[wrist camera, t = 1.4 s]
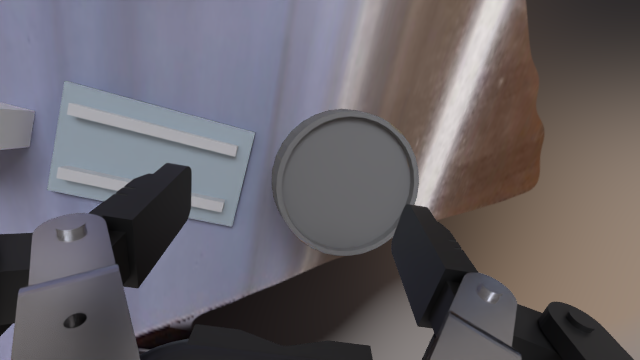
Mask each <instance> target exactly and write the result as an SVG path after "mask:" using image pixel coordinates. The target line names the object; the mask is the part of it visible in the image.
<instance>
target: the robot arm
mask: <svg viewBox="0 0 640 360" xmlns="http://www.w3.org/2000/svg"><path fill="white" fill-rule="evenodd" d="M191 190H192V171H191V168H190V167H189V166H184V165H178V164H172V163H166V164H164V165H163V166H162V167H161V168H160V169H158V170H157V171H156V172H155V173H153V174H150V173H148V174H145V175H143V176H140V177H137V178H134V179H133V180H132V181H130V182H129V183H128V184H126V185H125V186H124V188H121V189H120V190H118V191H117V192H116V194H113V195H112V196H111V197H109V198H108V199H107V200H105V201H104V202H103V203H101V204H100V205H99V206H97V207H96V208H95V209H93V210H92V211H91V212H90V213H76V214H68V215H63V216H59V217H56V218H53V219H51V220H48V221H46V222H44V223H43V224H41V225H40V226H38V227H37V228H36V229H35V231H34V232H33V233H21V234H0V336H1V335H2V334H3V333H4V332H5V331H6V330H7V329H8V328H9V327H10V326H11V325H12V324H13V323H15V327H14V336H13V345H12V355H11V360H373V359H372V354H371V348H370V346H368V345H359V344H351V343H343V342H335V341H323V342H315V343H307V344H300V345H291V346H282V345H279V344H276V343H273V342H271V341H268V340H266V339H263V338H260V337H257V336H255V335H253V334H250V333H247V332H244V331H242V330H239V329H230V328H222V327H214V326H206V325H198V324H195V326H194V329H193V331H192V333H191V336H190V338H189V339H186V340H180V341H176V342H171V343H168V344H165V345H162V346H159V347H156V348H154V349H152V350H149V351H147V352H145V353H143V354H141V355H139V352H138V348H137V343H136V339H135V335H134V331H133V326H132V322H131V318H130V314H129V309H128V305H127V301H126V297H125V292H124V288H123V286H124V287H132V288H139V287H140V285H141V284H142V282H143V281H144V280H145V278H146V277H147V275H148V274H149V273H150V271H151V270H152V268H153V267H154V266H155V264H156V263H157V261H158V260H159V259H160V257H161V256H162V255H163V253H164V252H165V250H166V249H167V248H168V246H169V245H170V243H171V242H172V241H173V239H174V238H175V236H176V235H177V234H178V232H179V231H180V230H181V228H182V227H183V225H184V224H185V223H186V221H187V219H188V217H189V214H190V210H191ZM391 249H392V254H393V257H394V260H395V263H396V266H397V269H398V272H399V274H400V277H401V280H402V283H403V286H404V289H405V291H406V294H407V297H408V300H409V302H410V306H411V309H412V311H413V314H414V317H415V320H416V323H417V325H418V326H419V327H427V328H433V330H434V335H433V337H432V339H431V341H430V343H429V345H428V347H427V349H426V351H425V354H424V356H423V358H422V360H634V359H633V358H632V357H631V356H630V355H629V354H628V353H627V352H626V351H625V350H624V349H623V348H622V347H621V346H620V345H619V344H618V343H617V341H616V340H615V339H614V338H613V337H612V336H611V335H610V334H609V333H608V332H607V331H606V330H605V329H604V328H603V327H602V326H601V325H600V324H599V323H598V322H597V321H596V320H595V319H593V318H592V317H590V316H589V315H588V314H586V313H584V312H583V311H581V310H579V309H577V308H575V307H573V306H571V305H568V304H565V303H561V302H551V303H550V304H549V305H548V306H547V308H546V309H545V311H544V312H543V313H541V312H537V311H535V310H532V309H530V308H527V307H524V306H521V305H519V304H517V301H516V298H515V297H514V295H513V294H512V292H511V291H510V290H509V289H508V288H507V287H506V286H504V285H503V284H502V283H500V282H499V281H497V280H496V279H493V278H492V277H490V276H487V275H484V274H481V273H478V271H477V270H476V268H475V267H474V265H473V264H472V263H471V261H470V260H469V258H468V257H467V255H466V254H465V253H464V251H463V250H461V247H460V245H459V244H458V242H456V240H455V238H454V237H453V235H452V234H451V233H450V231H449V230H448V229H446V228H445V227H444V226H443V225H442V224H440V223H439V222H437V221H436V219H435V218H434V216H433V215H432V213H431V212H430V210H429V209H428V208H427V207H422V206H416V205H410V204H407V205H405V207H404V209H403V211H402V214H401V216H400V219H399V222H398V225H397V227H396V230H395V233H394V236H393V239H392V248H391Z"/></svg>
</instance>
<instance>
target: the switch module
mask: <svg viewBox="0 0 640 360" xmlns="http://www.w3.org/2000/svg"><path fill="white" fill-rule="evenodd" d="M34 115H35V111H33V110H29V109H25V108H21V107H17V106H13V105H9V104H4V103H0V150H5V149H16V148H26V147H30V142H31V135H32V129H33V122H34Z"/></svg>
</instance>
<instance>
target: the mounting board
mask: <svg viewBox="0 0 640 360" xmlns="http://www.w3.org/2000/svg"><path fill="white" fill-rule="evenodd" d="M254 136H255V132H252V131H248V130H244V129H241V128H237V127H233V126H230V125H226V124H222V123H219V122H215V121H211V120H208V119H204V118H200V117H197V116H193V115H189V114H186V113H182V112H178V111H175V110H171V109H167V108H164V107H160V106H156V105H153V104H149V103H145V102H142V101H138V100H134V99H131V98H127V97H123V96H120V95H116V94H112V93H109V92H105V91H101V90H98V89H94V88H90V87H87V86H83V85H79V84H76V83H72V82H68V81H64V88H63V94H62V100H61V106H60V112H59V119H58V125H57V131H56V137H55V143H54V150H53V156H52V162H51V168H50V174H49V181H48V187H47V190H49V191H55V192H60V193H65V194H70V195H75V196H80V197H85V198H90V199H95V200H100V201H105V200H107V199H108V198H109V197H111V196H112V195H113V194H116V192H117V191H118V190H120V189H121V188H124V186H125V185H126V184H128V183H129V182H130V181H132V180H133V179H134V178H137V177H140V176H143V175H145V174H148V173H150V174H153V173H155V172H156V171H157V170H158V169H160V168H161V167H162V166H163V165H164V164H166V163H172V164H178V165H184V166H189V167H190V168H191V171H192V190H191V210H190V214H189V217H188V218H190V219H195V220H200V221H206V222H211V223H216V224H221V225H226V226H231V227H232V225H233V221H234V217H235V213H236V209H237V205H238V200H239V196H240V192H241V188H242V184H243V180H244V176H245V172H246V168H247V164H248V160H249V156H250V152H251V148H252V144H253V140H254Z"/></svg>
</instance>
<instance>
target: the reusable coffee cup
mask: <svg viewBox="0 0 640 360" xmlns="http://www.w3.org/2000/svg"><path fill="white" fill-rule="evenodd" d="M418 186H419V175H418V166H417V162H416V158H415V155H414V153H413V151H412V148H411V146H410V144H409V143H408V141H407V140H406V139H405V137H404V136H403V134H402V133H401V132H400V131H399V130H398V129H396V128H395V127H394V126H393V125H392V124H391V123H389V122H387V121H386V120H384V119H382V118H380V117H378V116H375V115H372V114H369V113H366V112H361V111H356V110H347V109H338V110H328V111H325V112H322V113H319V114H316V115H314V116H312V117H310V118H308V119H307V120H305V121H303V122H302V123H300V124H299V125H298V126H297V127H296V128H295V129H294V130H292V131H291V133H290V134H289V135H288V136H287V138H286V139H285V140H284V142H283V143H282V145H281V147H280V149H279V151H278V153H277V155H276V158H275V162H274V166H273V169H272V190H273V197H274V200H275V203H276V206H277V208H278V211H279V212H280V214H281V216H282V217H283V219H284V221H285V222H286V224H287V225H288V227H289V229H290V230H291V231H292V232H293V233H294V234H295V235H296V236H297V237H298V239H299V240H301V241H302V242H303V243H305V244H306V245H308V246H309V247H311V248H313V249H315V250H318V251H320V252H322V253H326V254H331V255H336V256H351V255H356V254H362V253H365V252H368V251H370V250H372V249H375V248H377V247H379V246H381V245H382V244H384V243H385V242H387V241H388V240H389V239H391V238H392V237H393V236H394V233H395V230H396V227H397V225H398V222H399V219H400V216H401V214H402V211H403V209H404V207H405V205H407V204H410V205H414V204H415V201H416V198H417V192H418Z"/></svg>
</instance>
